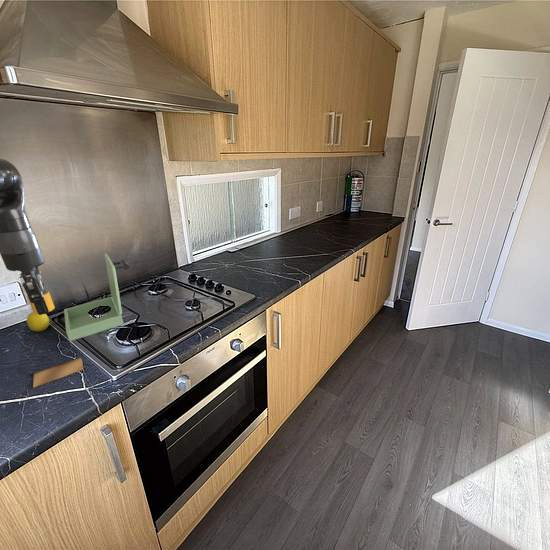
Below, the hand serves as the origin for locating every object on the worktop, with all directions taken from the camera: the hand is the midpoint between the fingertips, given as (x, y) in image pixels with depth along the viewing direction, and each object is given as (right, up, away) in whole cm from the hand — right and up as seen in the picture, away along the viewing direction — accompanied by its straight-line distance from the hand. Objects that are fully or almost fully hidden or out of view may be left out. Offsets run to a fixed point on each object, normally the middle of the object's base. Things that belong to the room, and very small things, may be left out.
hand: (43, 309), depth 77 cm
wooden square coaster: (+1, -17, +4) cm, 17 cm away
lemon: (-17, -10, +21) cm, 29 cm away
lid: (+4, +6, +24) cm, 26 cm away
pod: (0, 0, 0) cm, 0 cm away
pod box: (-2, -8, +25) cm, 26 cm away
